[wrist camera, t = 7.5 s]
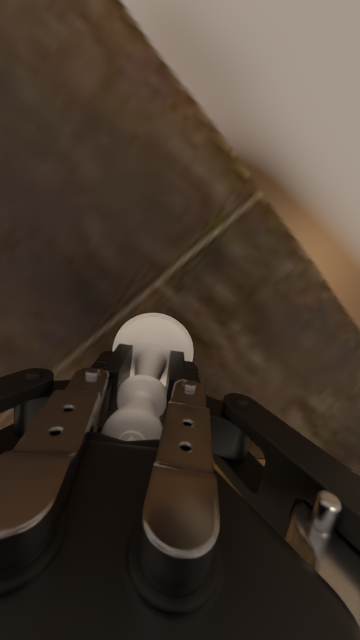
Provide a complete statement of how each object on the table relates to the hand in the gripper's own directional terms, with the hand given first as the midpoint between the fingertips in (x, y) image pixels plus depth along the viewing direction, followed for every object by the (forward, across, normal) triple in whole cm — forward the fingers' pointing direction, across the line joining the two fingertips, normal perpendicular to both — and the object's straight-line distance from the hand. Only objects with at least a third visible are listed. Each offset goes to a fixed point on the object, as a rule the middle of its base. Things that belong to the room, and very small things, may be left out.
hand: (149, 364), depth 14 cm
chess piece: (+2, 0, 0) cm, 2 cm away
